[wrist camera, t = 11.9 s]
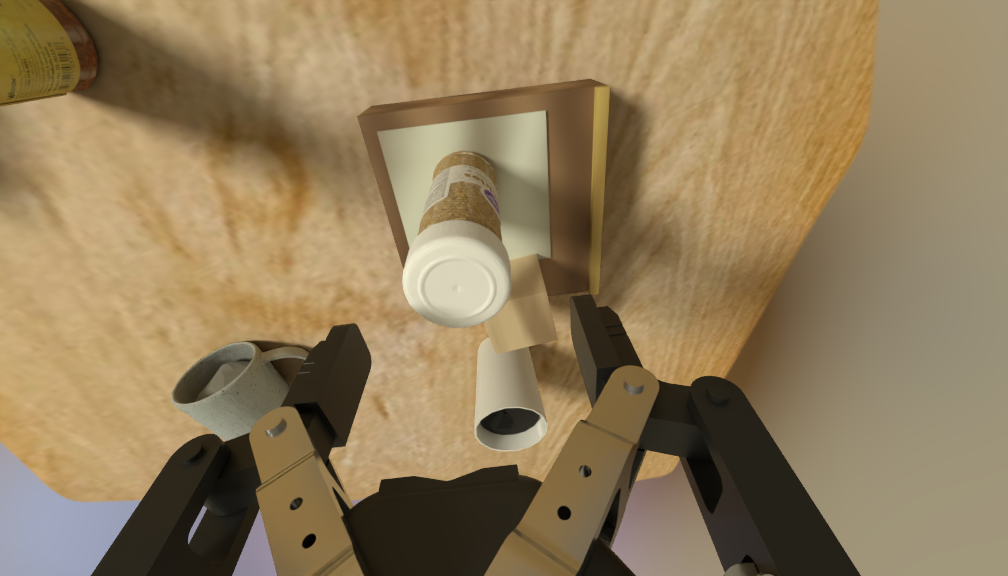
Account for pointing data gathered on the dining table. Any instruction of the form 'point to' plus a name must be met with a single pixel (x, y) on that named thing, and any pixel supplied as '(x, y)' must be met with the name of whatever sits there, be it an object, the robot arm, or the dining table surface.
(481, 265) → the sprinkles bottle
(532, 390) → the white cup
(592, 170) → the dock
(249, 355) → the ceramic mug
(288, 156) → the dining table surface
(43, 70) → the sauce bottle
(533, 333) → the wooden cube
